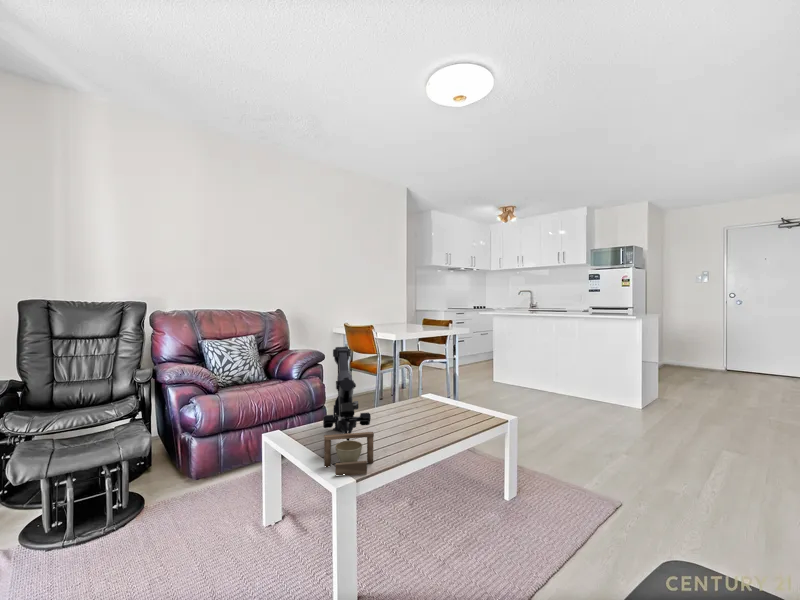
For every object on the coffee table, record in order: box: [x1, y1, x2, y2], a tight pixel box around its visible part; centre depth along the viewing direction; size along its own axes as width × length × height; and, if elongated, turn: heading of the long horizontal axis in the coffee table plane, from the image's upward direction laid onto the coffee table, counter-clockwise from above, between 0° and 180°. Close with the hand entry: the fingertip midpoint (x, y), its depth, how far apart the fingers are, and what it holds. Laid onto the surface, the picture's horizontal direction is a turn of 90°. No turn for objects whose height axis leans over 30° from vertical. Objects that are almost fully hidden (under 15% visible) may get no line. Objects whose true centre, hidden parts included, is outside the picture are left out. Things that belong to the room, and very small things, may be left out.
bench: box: [323, 431, 375, 476], centre depth 142 cm, size 10×18×11 cm, turn 102°
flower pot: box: [334, 440, 363, 463], centre depth 146 cm, size 10×10×7 cm
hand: (348, 440), depth 150 cm, fingers closed, pressing on flower pot
